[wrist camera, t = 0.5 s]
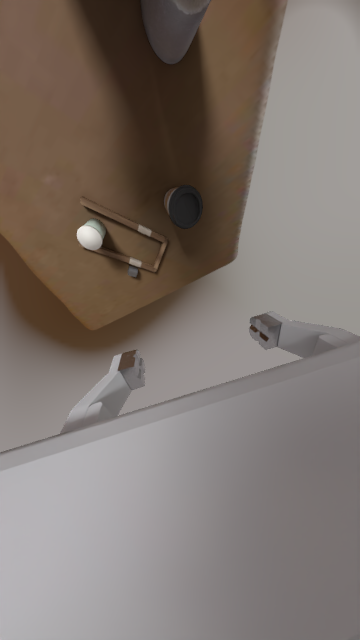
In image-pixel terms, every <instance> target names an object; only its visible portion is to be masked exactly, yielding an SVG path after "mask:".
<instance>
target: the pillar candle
mask: <svg viewBox="0 0 360 640" xmlns="http://www.w3.org/2000/svg"><path fill="white" fill-rule="evenodd" d="M140 1H141V11H142V18H143V23H144V27H145V31H146V34H147V37H148V40H149V42H150V44H151V46H152V48H153V50H154V52H155V53H156V55H157V56H158V57H159V58H160V59H161V60H162V61H163V62H165V63H167V64H175V63H177V62H179V61H180V60H181V59H182V58H183V56H184V55H185V54H186V52H187V50H188V48H189V46H190V44H191V42H192V40H193V38H194V36H195V34H196V31H197V29H198V27H199V25H200V22H201V20H202V18H203V16H204V14H205V12H206V10H207V7H208V5H209V3H210V1H211V0H140Z"/></svg>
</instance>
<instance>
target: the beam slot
mask: <svg viewBox="0 0 360 640" xmlns="http://www.w3.org/2000/svg"><path fill="white" fill-rule="evenodd" d="M80 204H82V205H84V206H86V207H88V208H90V209H92V210H95V211H97V212H99V213H101V214H103V215H105V216H108V217H110V218H112V219H114V220H116V221H118V222H120V223H123V224H125V225H127V226H129V227H131V228H133V229H135V230H138V231H139V232H141V233H143V234H146V235H148V236H150V237H153V238H155V239H157V240H159V241H161V242H162V244H161V247H160V250H159V252H158V255H157V258H156V260H155V263H154V266H153V265H150V264H147V263H145V262H142V261H140V260H137V259H134V258H132V257H128V256H126V255H123V254H120V253H118V252H115V251H112V250H110V249H107V248H104V247H100V248H99V249H97V250H92V251H95V252H98V253H101V254H104V255H107V256H110V257H112V258H115V259H118V260H121V261H124V262H127V263H129V264H132V265H135V266H138V267H141V268H144V269H147V270H150V271H153V272H156V271H157V268H158V265H159V263H160V260H161V258H162V255H163V253H164V250H165V248H166V245H167V242H168V238H166V237H164V236H162V235H160V234H158V233H156V232H154V231H152V230H150V229H148V228H146V227H144V226H142V225H140V224H138V223H136V222H134V221H132V220H130V219H128V218H126V217H124V216H121V215H119V214H117V213H115V212H113V211H111V210H109V209H107V208H105V207H103V206H101V205H99V204H97V203H95V202H93V201H91V200H89V199H87V198H85V197H83V196H82V197H81V200H80ZM78 246H81V247H84V246H83V245H81V243H80V242H79V241H78ZM84 248H85V247H84ZM137 273H138V268H136V267H133V266H130V265H129V269H128V275H130V276H133V277H136V276H137Z"/></svg>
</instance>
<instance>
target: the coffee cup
mask: <svg viewBox="0 0 360 640" xmlns="http://www.w3.org/2000/svg"><path fill="white" fill-rule="evenodd" d="M164 205H165V209H166V211H167V213H168V215H169V216H170V218H171V220H172V222H173V223H174V224H175V225H176V226H178V227H180V228H183V229H188V228H191V227H193V226H194V225H195V224H196V223H197V222H198V221H199V219H200V217H201V214H202V209H203V205H202V199H201V196H200V194H199V192H198V191H197V190H196V189H195V188H194V187H192V186H190V185H183V186H180V187H176V188H172V189H170V190H169V191H168V192H167V193H166V195H165V198H164Z"/></svg>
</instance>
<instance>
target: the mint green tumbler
mask: <svg viewBox="0 0 360 640" xmlns="http://www.w3.org/2000/svg"><path fill="white" fill-rule="evenodd" d="M105 234H106V228H105V226H104V224H103V223H102V222H101V221H100V220H98V219H94V218H93V219H90V220H89V221H88V222H87V223H86V224H85V225H84V226H82V227H80V228H79V229H78V231H77V238H78V240H79V242H80V243H81V245H83V246H84V247H85V248H87V249H89V250H97V249H99V248H100V247H101V245H102V240H103V238H104V236H105Z"/></svg>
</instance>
